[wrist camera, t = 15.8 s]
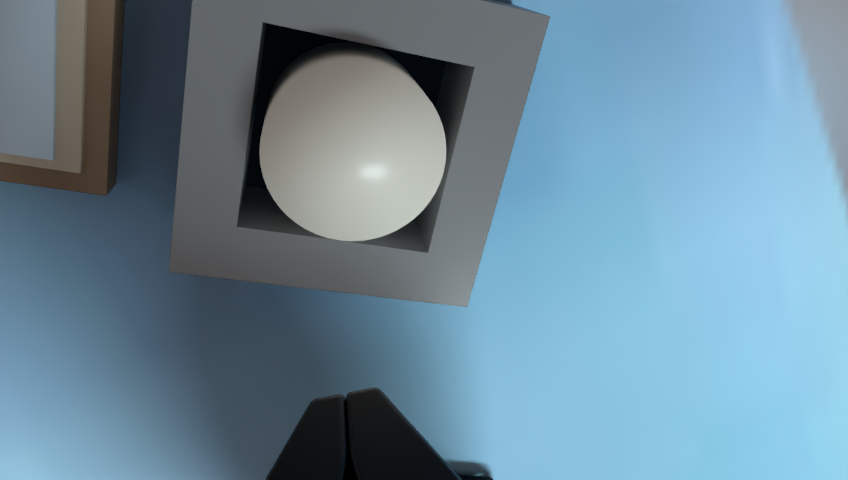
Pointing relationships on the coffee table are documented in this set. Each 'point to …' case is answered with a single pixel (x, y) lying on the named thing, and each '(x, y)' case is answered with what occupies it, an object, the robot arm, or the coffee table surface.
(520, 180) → the coffee table surface
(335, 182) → the button
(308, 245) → the button housing
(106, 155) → the picture board
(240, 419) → the coffee table surface
